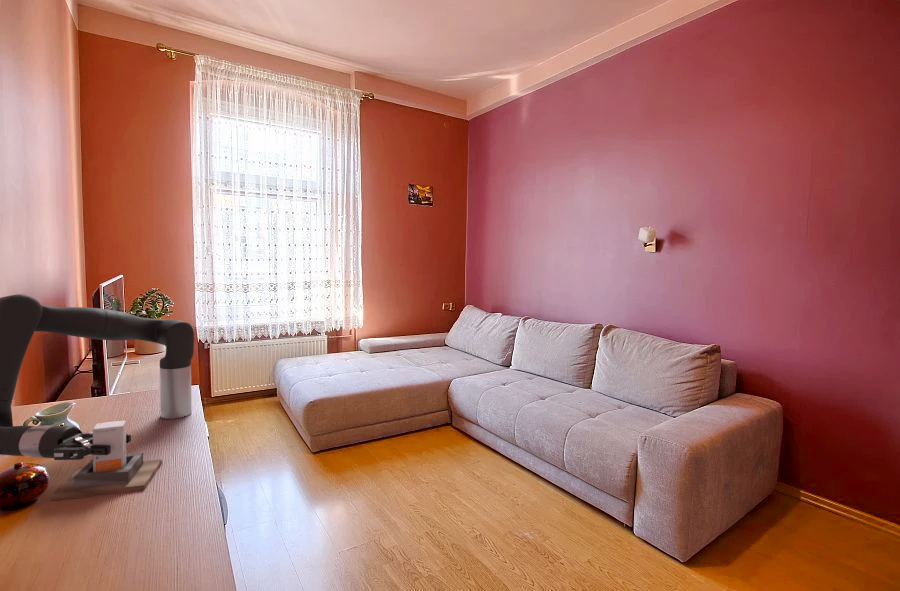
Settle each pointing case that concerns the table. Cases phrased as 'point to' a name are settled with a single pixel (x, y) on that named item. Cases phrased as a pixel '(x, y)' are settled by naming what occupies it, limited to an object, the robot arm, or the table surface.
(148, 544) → the table surface
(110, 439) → the skincare box
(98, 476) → the socket stand
